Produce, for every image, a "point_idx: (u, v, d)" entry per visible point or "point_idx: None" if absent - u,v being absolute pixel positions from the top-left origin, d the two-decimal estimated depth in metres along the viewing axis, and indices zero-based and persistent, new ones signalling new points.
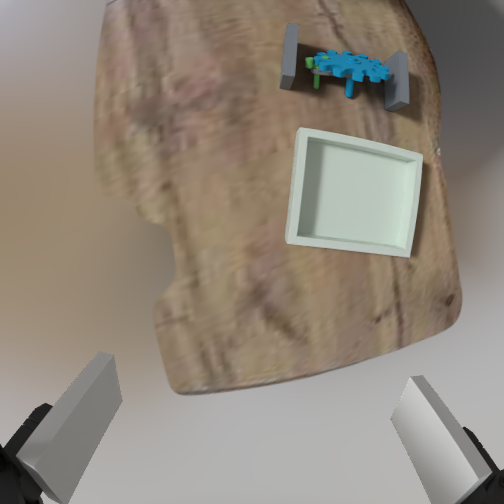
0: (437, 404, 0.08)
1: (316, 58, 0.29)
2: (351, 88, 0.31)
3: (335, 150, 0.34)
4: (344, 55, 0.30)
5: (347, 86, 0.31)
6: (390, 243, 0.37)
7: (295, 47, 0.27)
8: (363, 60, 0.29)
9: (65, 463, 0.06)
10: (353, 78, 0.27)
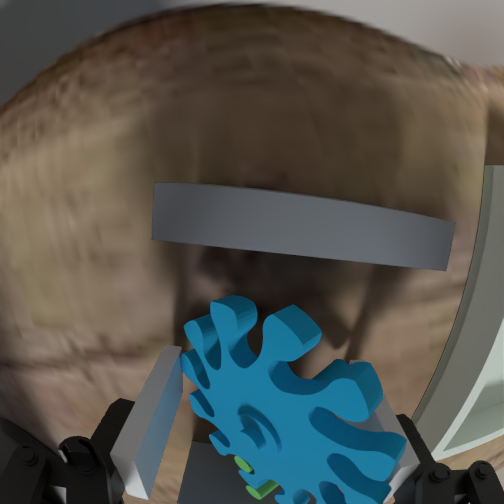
0: None
1: (255, 486, 0.10)
2: None
3: None
4: (215, 406, 0.10)
5: None
6: None
7: None
8: (237, 383, 0.09)
9: (151, 454, 0.07)
10: None
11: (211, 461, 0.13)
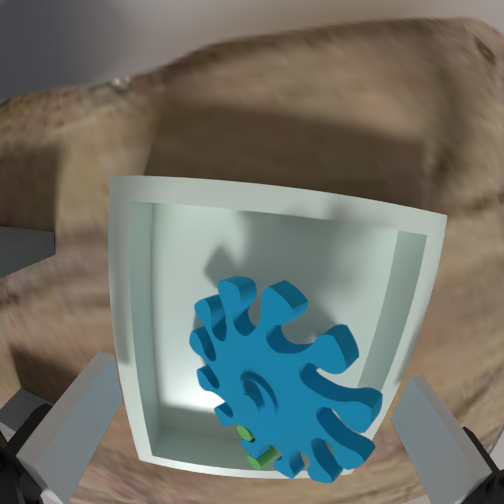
0: (437, 404, 0.08)
1: (255, 455, 0.12)
2: None
3: (167, 386, 0.15)
4: (220, 377, 0.12)
5: None
6: (393, 245, 0.13)
7: None
8: (240, 350, 0.11)
9: (65, 463, 0.06)
10: None
11: (22, 401, 0.16)
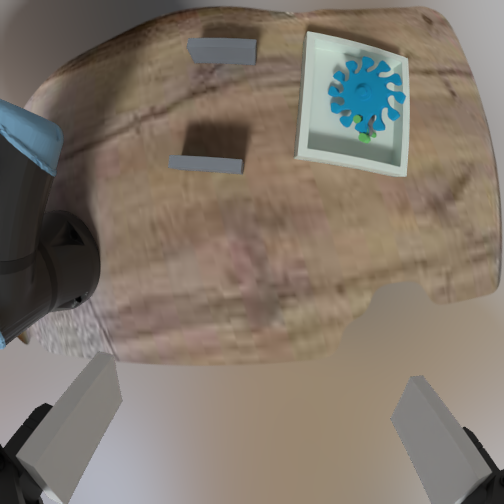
0: (437, 404, 0.08)
1: (363, 129, 0.29)
2: None
3: (311, 119, 0.32)
4: (345, 96, 0.29)
5: None
6: None
7: (202, 158, 0.29)
8: (355, 79, 0.28)
9: (65, 463, 0.06)
10: (402, 102, 0.25)
11: None
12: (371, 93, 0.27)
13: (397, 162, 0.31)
